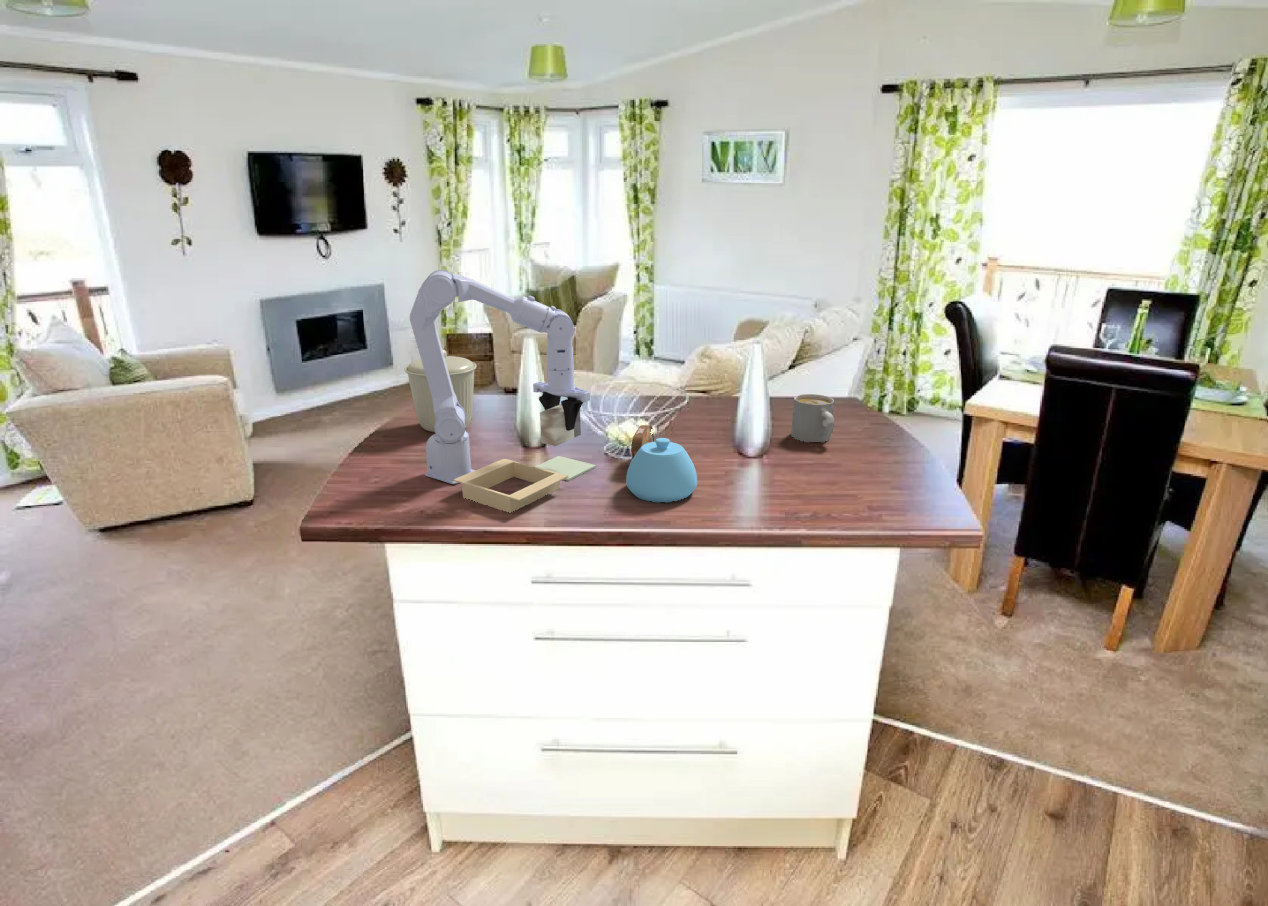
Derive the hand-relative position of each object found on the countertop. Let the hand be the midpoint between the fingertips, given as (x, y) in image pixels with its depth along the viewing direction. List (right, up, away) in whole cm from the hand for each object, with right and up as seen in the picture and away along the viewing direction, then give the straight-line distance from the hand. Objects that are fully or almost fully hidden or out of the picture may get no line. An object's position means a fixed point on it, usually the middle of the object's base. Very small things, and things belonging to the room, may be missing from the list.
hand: (562, 427), depth 163 cm
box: (0, -2, +1) cm, 3 cm away
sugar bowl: (+22, -14, -8) cm, 27 cm away
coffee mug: (+62, -2, +24) cm, 67 cm away
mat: (0, -9, +3) cm, 10 cm away
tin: (+18, -8, +7) cm, 21 cm away
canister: (-34, +1, +32) cm, 47 cm away
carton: (-9, -14, -10) cm, 20 cm away
